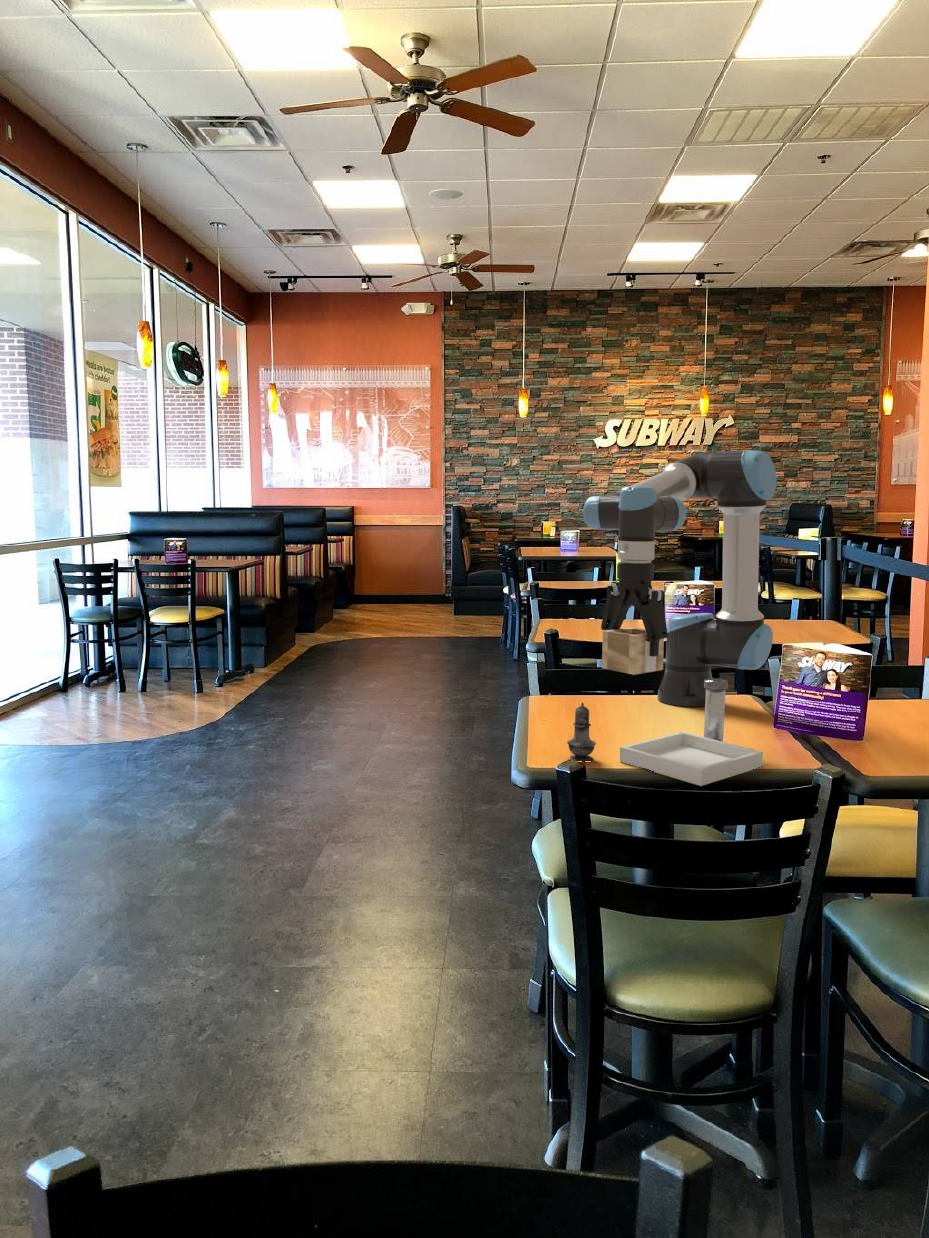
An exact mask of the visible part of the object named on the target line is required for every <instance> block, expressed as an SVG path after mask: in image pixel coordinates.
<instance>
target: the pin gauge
mask: <svg viewBox="0 0 929 1238" xmlns="http://www.w3.org/2000/svg"><path fill="white" fill-rule="evenodd" d="M728 686H729V685H728V680H727V679H724V678H716V677H715V678H714V677H712V678H708V679H705V680H704V688H706V699H705V706H704V725H703V730H704V731H703V737H705V738H709V739H713V740H717V741H722V742H724V730H725V729H724V728H725V727H724V726H725V705H726V690H728Z"/></svg>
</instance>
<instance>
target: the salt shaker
mask: <svg viewBox="0 0 929 1238" xmlns="http://www.w3.org/2000/svg"><path fill="white" fill-rule="evenodd" d="M572 724H573V726H574V732H573V733H574V734H573V738H571V739H568V740H567V742H566V744H567V745H568V748H569V752H570V753H571V754H572V755H570V756H569V757H570V759H567V760H568V761H569V760H573V761H582V762H585V761H593V760H594V761H595V759H594V757H592V756H591V754H592V753H593V752H594V750H595V746H596V745H597V742H596V741H594V740H592V739H591V737H590V727H591V726H592V725H591V723H590V710H589V708H588V707H586V706H585V703H584V702H581V704H580V706H578V707H576V709H575V713H574V722H573V723H572ZM594 761H593V762H594Z"/></svg>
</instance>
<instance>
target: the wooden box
mask: <svg viewBox="0 0 929 1238" xmlns="http://www.w3.org/2000/svg"><path fill="white" fill-rule="evenodd" d="M653 635H654V634H653ZM646 639H648V636H647V633H646V630H645V628H638V627H634V626H633V627H622V628H620V629H614V630H606V631H605V630H602V644H601V645H602V651H601V652H602V653H601V669H604V670H609V671H613V672H618V673H619V672H620V673H624V674H629V675H633V676H635V675H640V674H646V673H648V672H644V661H645V641H647V640H646ZM664 643H665V638H664V639H661V640H660V641H659V654H658V656H656V671H655V672H659V671H663V670H664V654H665V653H664V649H665V647H664V646H665V644H664Z"/></svg>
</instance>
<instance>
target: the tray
mask: <svg viewBox="0 0 929 1238" xmlns="http://www.w3.org/2000/svg"><path fill="white" fill-rule="evenodd" d="M763 760H764V751H761V750H757V749H753V748H749V747H745V746H741V745H737V744H733V743H730V742H729V743H728V742H727V741H726V742H725V741H723V742H722V741H717V740H713V739H709V738H705V737H704V736H701V735H697V734H693V733H690V732H689V733H688V732H685V731H680V732H676V733H671V734H668V735H664V736H659V737H656V738H655V737H654V738H652V739H647V740H642V741H639V742H635V743H631V744H627V745H622V746H619V762H620V763H622V762H623V764H625V763H626V765H629V764H630V765H629V766H632V765H633V767H635V766H636V767H635V768H639V767H642V768H646V769H649V770H651V771H650V772H652V771H654V772H653V773H656V774H659V775H661V776H662V775H663V776H666V777H670V778H673V779H676V780H679V781H682V782H686V783H689V784H693V785H696V786H699V787H702V786H706V785H709V784H712V783H716V782H718V781H721V780H724V779H728V778H732V777H734V776H737V775H740V774H744V773H747V772H750V771H753V769H754V770H757V769H759V768H758V767H760V768H762V767H763V763H764V762H763ZM761 766H762V767H761ZM642 768H641V769H642ZM756 768H757V769H756ZM649 770H648V771H649Z"/></svg>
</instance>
